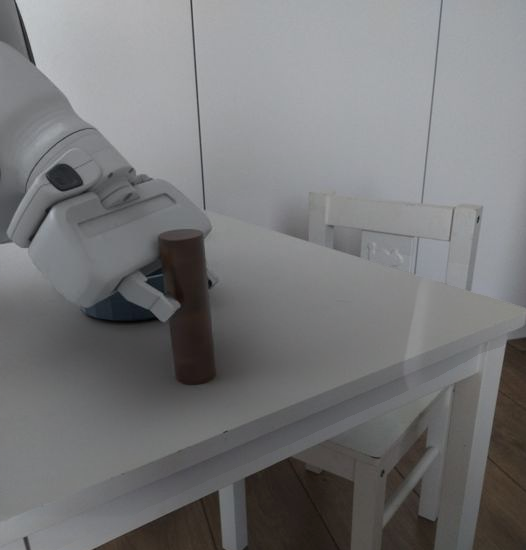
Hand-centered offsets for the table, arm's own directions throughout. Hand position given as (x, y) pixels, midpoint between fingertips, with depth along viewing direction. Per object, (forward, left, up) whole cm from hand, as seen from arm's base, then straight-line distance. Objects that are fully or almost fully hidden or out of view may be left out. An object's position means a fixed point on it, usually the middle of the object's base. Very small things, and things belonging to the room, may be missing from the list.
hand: (194, 300), depth 52 cm
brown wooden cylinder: (-1, 0, -8) cm, 8 cm away
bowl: (-12, +21, -8) cm, 25 cm away
